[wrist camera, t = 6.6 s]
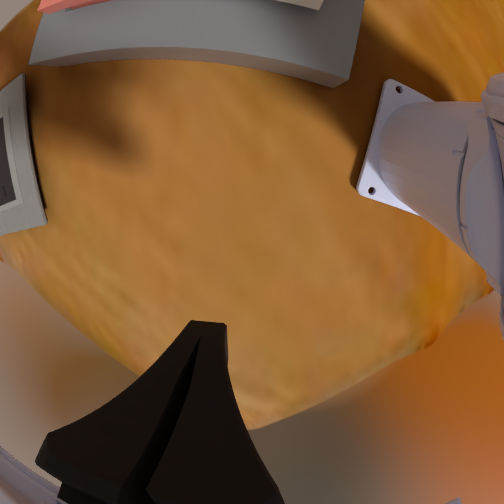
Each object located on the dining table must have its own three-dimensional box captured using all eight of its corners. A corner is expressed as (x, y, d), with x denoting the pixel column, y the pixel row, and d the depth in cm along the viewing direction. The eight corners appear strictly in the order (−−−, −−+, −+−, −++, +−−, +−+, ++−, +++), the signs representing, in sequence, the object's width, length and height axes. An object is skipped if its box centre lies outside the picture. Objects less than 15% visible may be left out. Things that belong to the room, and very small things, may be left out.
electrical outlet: (-17, 117, 14) (-33, 120, 12) (38, 73, 13) (19, 72, 11) (3, 229, 20) (-11, 238, 18) (59, 215, 19) (43, 226, 17)
